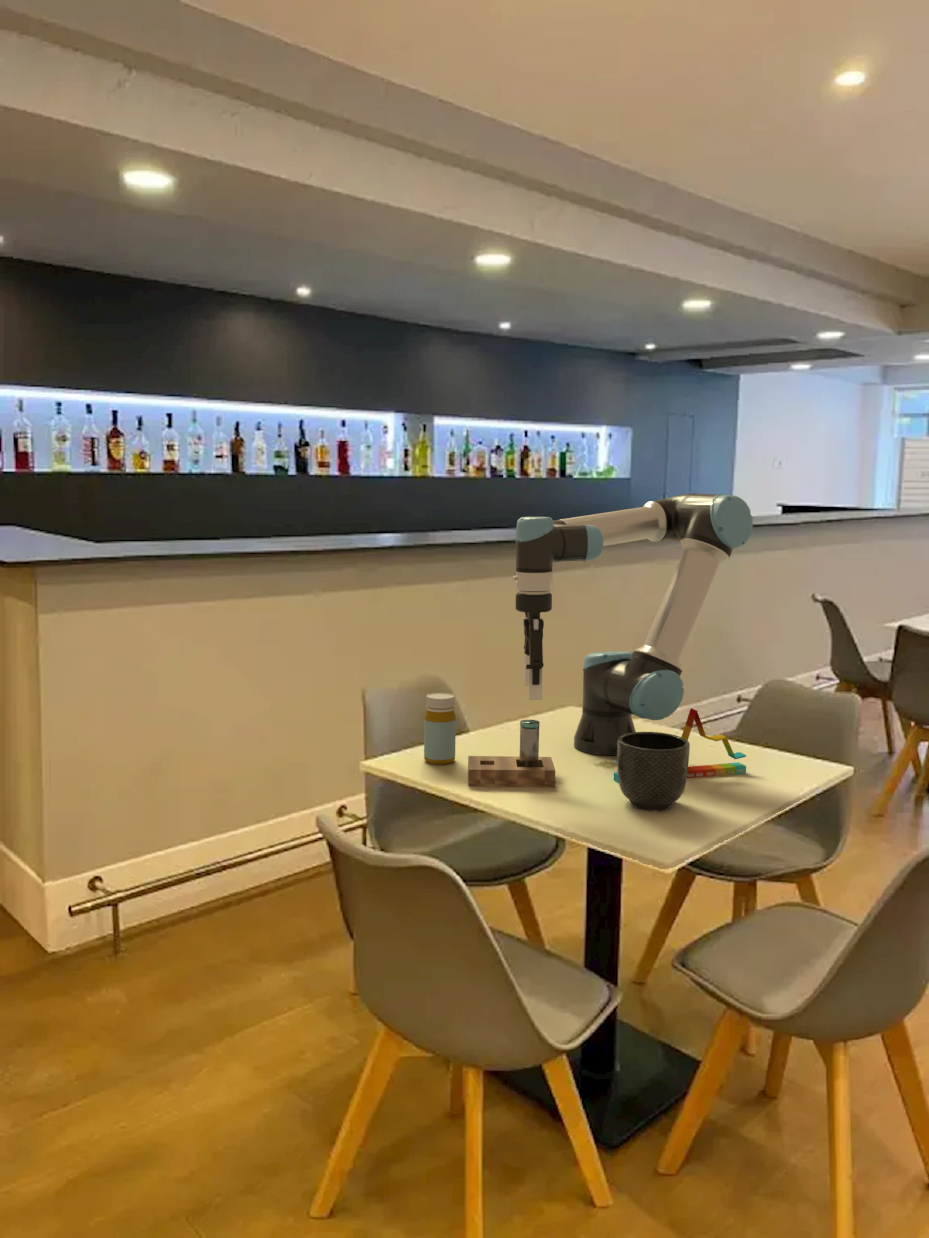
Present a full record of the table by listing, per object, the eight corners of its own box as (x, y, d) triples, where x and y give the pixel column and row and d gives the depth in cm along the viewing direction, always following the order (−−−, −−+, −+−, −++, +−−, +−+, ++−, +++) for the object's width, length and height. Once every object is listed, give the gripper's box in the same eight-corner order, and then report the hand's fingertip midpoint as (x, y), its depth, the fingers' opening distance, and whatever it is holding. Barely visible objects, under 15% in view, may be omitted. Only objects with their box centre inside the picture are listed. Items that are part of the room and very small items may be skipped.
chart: (620, 785, 205) (622, 716, 203) (613, 781, 208) (616, 712, 206) (746, 774, 214) (750, 708, 211) (738, 770, 217) (742, 704, 214)
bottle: (456, 757, 223) (457, 693, 221) (453, 766, 216) (454, 699, 214) (426, 755, 224) (426, 691, 221) (422, 764, 217) (422, 698, 215)
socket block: (550, 772, 212) (551, 756, 212) (555, 786, 202) (555, 770, 202) (468, 771, 212) (468, 755, 212) (468, 785, 202) (468, 769, 202)
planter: (700, 812, 188) (703, 747, 186) (634, 818, 184) (637, 752, 182) (665, 790, 201) (668, 729, 199) (603, 795, 197) (605, 733, 195)
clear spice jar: (537, 774, 209) (538, 719, 208) (538, 779, 205) (540, 724, 203) (518, 773, 209) (519, 719, 208) (519, 779, 205) (520, 724, 203)
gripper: (512, 584, 214) (512, 679, 217) (519, 599, 189) (518, 706, 192) (546, 584, 214) (545, 679, 217) (557, 599, 189) (556, 706, 192)
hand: (532, 692), depth 205 cm, fingers open, 13 cm apart
